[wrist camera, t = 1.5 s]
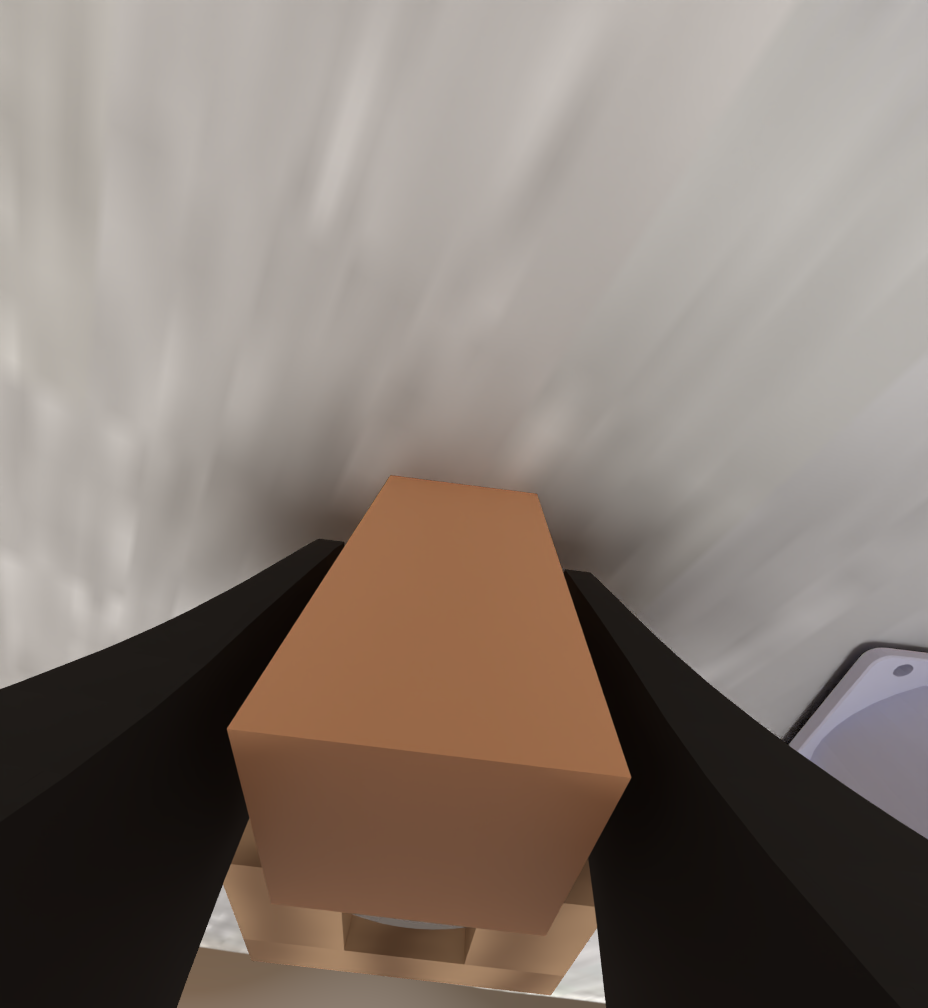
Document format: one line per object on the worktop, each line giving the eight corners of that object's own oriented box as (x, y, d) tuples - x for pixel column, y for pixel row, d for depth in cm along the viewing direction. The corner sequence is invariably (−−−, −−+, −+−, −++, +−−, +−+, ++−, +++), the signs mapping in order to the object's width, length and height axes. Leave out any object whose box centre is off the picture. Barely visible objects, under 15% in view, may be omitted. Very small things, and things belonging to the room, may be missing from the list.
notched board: (593, 832, 17) (610, 908, 15) (543, 926, 22) (550, 995, 19) (250, 791, 17) (214, 862, 15) (275, 895, 22) (251, 960, 19)
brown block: (536, 493, 10) (631, 777, 4) (511, 607, 12) (545, 936, 5) (390, 475, 10) (227, 728, 4) (386, 592, 12) (271, 904, 5)
